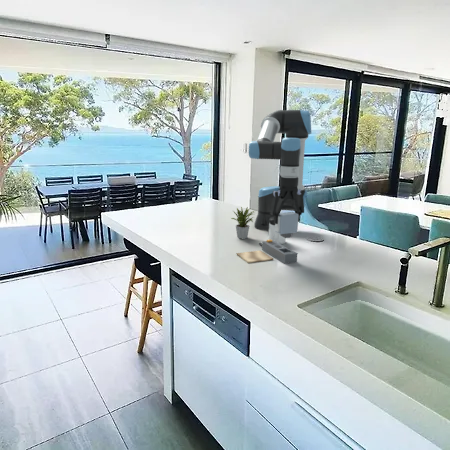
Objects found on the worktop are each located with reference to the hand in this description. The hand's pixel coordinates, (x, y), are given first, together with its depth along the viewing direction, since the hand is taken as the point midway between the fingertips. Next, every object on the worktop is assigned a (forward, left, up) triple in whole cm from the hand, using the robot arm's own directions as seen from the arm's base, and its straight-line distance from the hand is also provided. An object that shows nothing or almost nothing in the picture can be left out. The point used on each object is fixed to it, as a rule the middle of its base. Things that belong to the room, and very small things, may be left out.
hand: (286, 230), depth 159 cm
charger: (0, 0, -3) cm, 3 cm away
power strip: (0, -9, -13) cm, 16 cm away
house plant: (+3, -36, -13) cm, 38 cm away
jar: (-10, -24, -13) cm, 29 cm away
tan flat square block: (+11, -7, -13) cm, 18 cm away
